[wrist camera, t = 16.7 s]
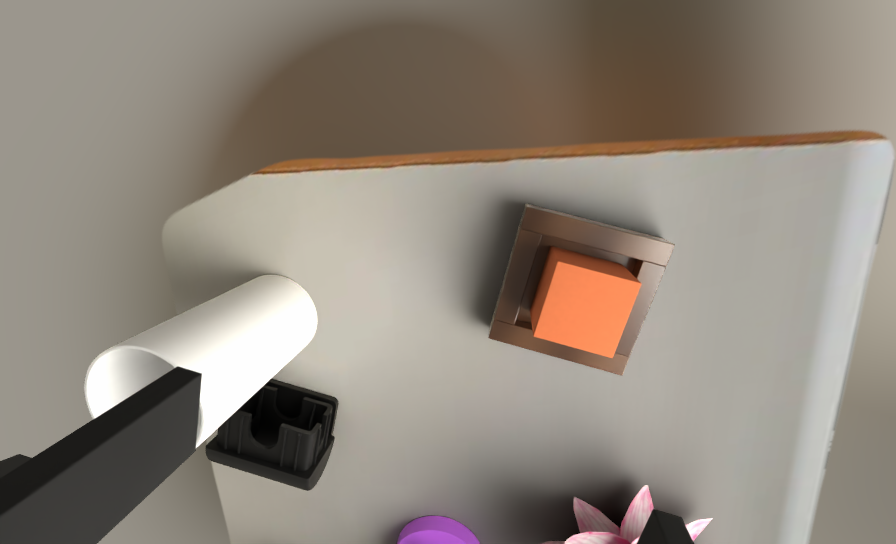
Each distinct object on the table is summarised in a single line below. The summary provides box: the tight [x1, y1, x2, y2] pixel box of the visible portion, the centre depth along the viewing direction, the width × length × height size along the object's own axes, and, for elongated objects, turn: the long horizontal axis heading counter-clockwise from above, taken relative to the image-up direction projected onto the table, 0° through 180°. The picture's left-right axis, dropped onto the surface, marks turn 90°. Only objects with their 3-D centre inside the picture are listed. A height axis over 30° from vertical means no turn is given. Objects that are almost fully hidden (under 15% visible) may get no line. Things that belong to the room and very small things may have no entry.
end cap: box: [206, 379, 338, 491], centre depth 41 cm, size 10×7×7 cm
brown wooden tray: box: [489, 203, 675, 375], centre depth 36 cm, size 12×12×2 cm
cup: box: [84, 275, 317, 448], centre depth 34 cm, size 8×8×16 cm
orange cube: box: [530, 246, 642, 358], centre depth 34 cm, size 6×6×6 cm
